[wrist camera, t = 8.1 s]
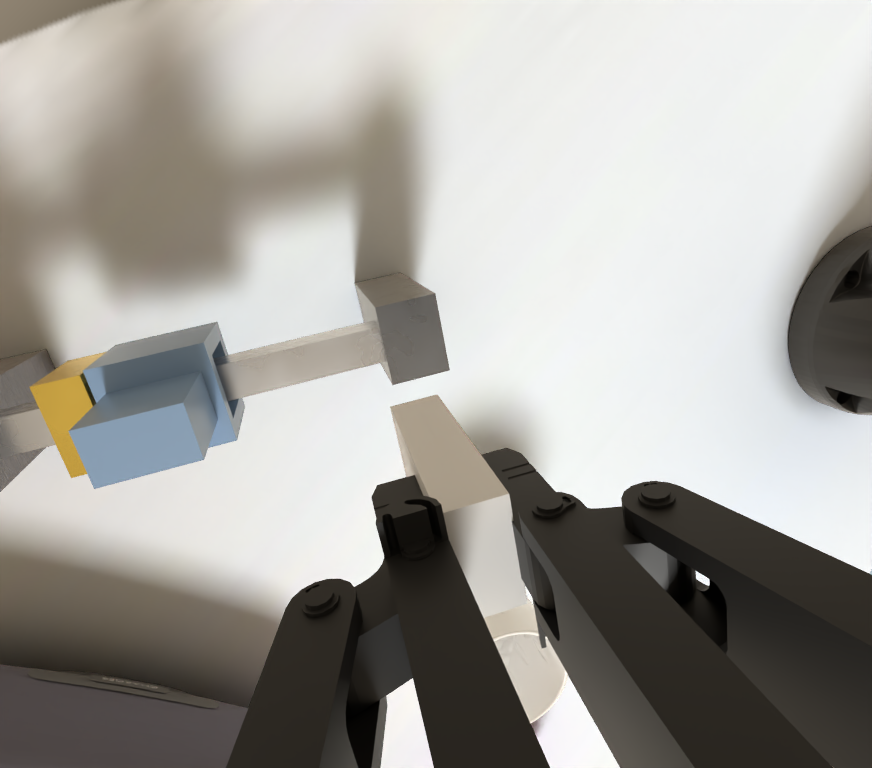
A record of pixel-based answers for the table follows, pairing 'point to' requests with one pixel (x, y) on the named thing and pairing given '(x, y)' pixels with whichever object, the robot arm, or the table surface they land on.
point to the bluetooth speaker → (109, 723)
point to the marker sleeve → (155, 406)
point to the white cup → (528, 659)
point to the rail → (228, 370)
